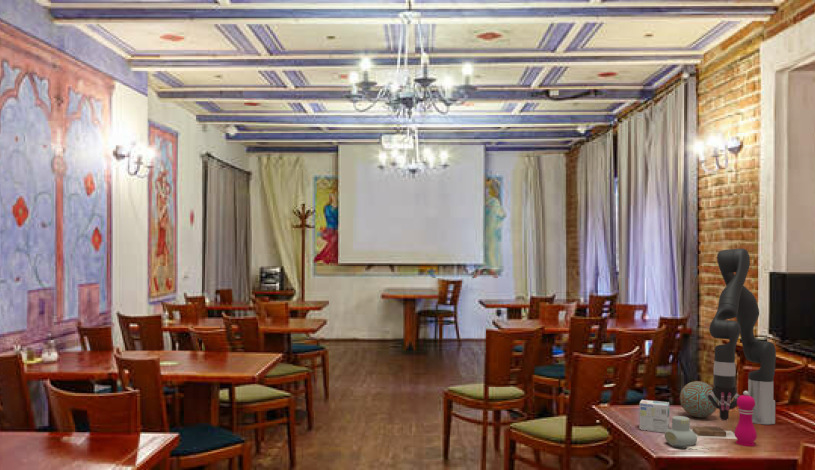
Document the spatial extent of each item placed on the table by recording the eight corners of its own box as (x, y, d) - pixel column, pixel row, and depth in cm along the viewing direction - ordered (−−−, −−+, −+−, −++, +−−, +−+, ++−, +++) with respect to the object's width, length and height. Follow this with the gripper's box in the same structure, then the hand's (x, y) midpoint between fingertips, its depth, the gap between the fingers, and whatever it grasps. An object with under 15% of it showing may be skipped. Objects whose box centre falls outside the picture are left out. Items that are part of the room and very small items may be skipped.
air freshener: (700, 449, 254) (700, 420, 254) (680, 450, 252) (680, 422, 252) (680, 441, 265) (680, 413, 265) (661, 442, 262) (661, 414, 262)
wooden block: (719, 427, 274) (692, 426, 275) (726, 432, 267) (698, 430, 268) (719, 432, 274) (692, 430, 275) (726, 436, 267) (698, 435, 268)
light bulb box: (669, 429, 281) (669, 401, 281) (667, 433, 275) (668, 405, 275) (640, 426, 286) (641, 399, 286) (638, 430, 280) (639, 402, 280)
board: (730, 434, 276) (730, 430, 276) (742, 442, 264) (742, 439, 264) (676, 431, 278) (676, 428, 278) (685, 440, 266) (685, 436, 266)
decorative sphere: (684, 420, 296) (685, 383, 297) (675, 412, 311) (676, 377, 312) (722, 422, 295) (723, 385, 295) (711, 413, 310) (712, 378, 310)
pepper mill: (730, 444, 261) (730, 388, 261) (749, 444, 262) (750, 388, 262) (741, 450, 254) (741, 392, 254) (760, 449, 254) (761, 392, 255)
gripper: (739, 372, 273) (738, 418, 273) (703, 371, 275) (702, 417, 274) (746, 375, 266) (746, 423, 266) (709, 374, 267) (708, 421, 267)
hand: (723, 420), depth 270 cm, fingers closed
